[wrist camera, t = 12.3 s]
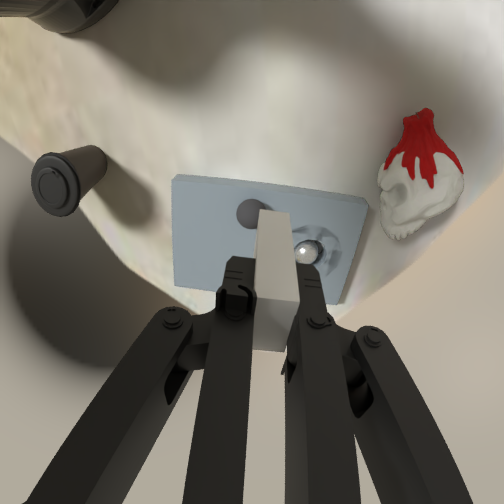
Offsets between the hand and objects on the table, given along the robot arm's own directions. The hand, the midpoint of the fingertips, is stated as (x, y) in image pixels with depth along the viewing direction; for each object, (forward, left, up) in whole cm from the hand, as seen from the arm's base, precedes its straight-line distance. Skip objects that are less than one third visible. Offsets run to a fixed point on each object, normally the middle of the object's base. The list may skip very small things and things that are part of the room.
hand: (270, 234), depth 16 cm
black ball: (-1, -7, -18) cm, 19 cm away
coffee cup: (-24, -4, -22) cm, 33 cm away
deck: (+1, -13, -22) cm, 25 cm away
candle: (+18, +1, -22) cm, 28 cm away
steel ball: (+6, -13, -20) cm, 24 cm away
